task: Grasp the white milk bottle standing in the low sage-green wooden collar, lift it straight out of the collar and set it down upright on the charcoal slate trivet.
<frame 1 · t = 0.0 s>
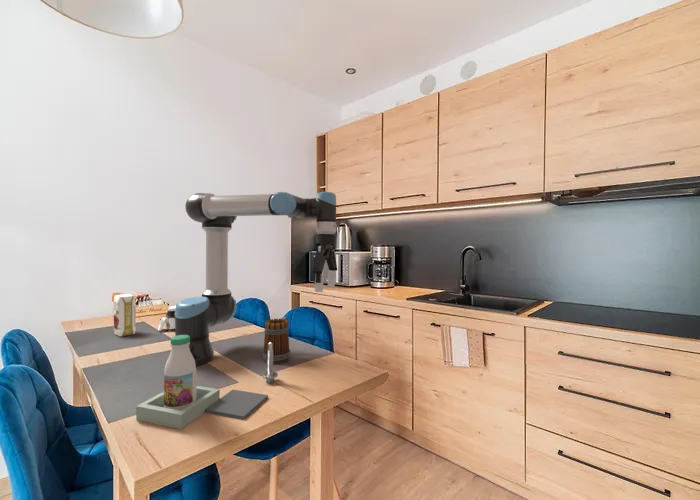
hand: (325, 289, 121), 28 cm above the table, fingers open, 13 cm apart
screw: (270, 381, 104), on the table
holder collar: (180, 410, 86), on the table
milk bottle: (180, 410, 86), resting in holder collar
spread jar: (171, 330, 163), on the table
juice carton: (124, 334, 154), on the table
trivet: (237, 404, 89), on the table
mug: (279, 357, 126), on the table
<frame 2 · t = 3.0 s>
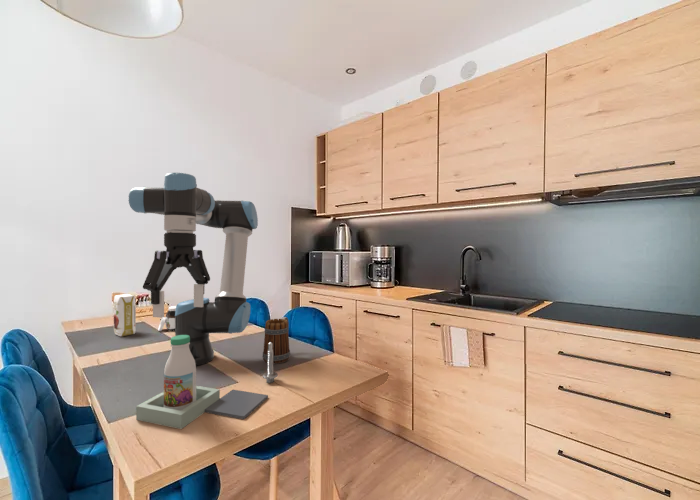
hand: (180, 311, 85), 27 cm above the table, fingers open, 13 cm apart
nothing on the table moved.
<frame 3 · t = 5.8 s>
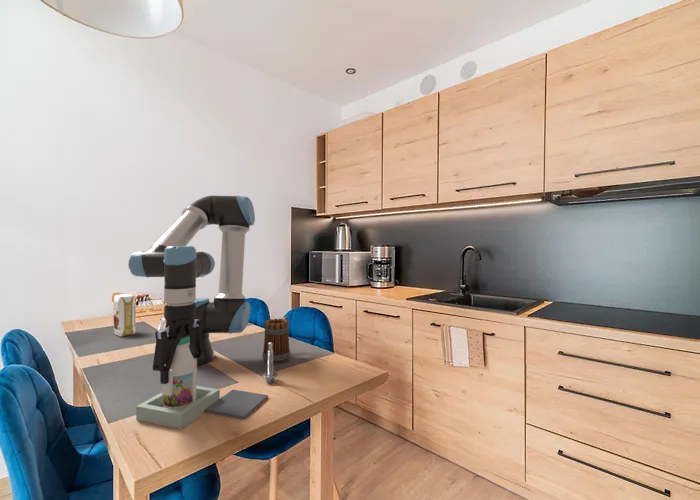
hand: (180, 387, 86), 6 cm above the table, fingers closed on milk bottle, 8 cm apart
milk bottle: (180, 410, 86), resting in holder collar, touching gripper
everything else where it was.
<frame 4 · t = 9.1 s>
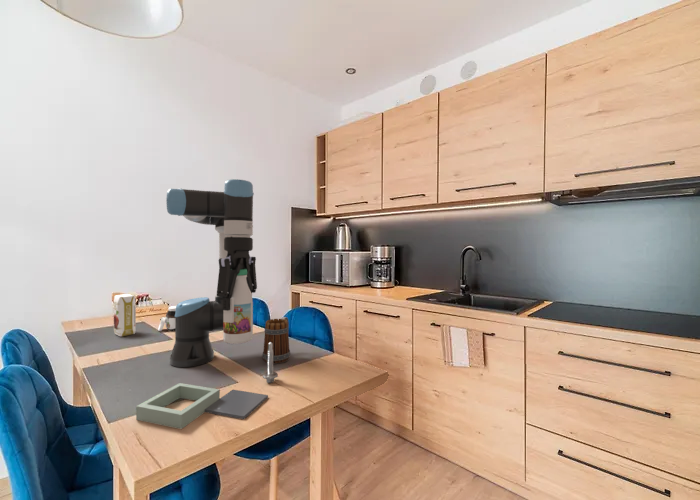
hand: (238, 318, 88), 24 cm above the table, fingers closed on milk bottle, 8 cm apart
milk bottle: (238, 341, 89), point 18 cm above the table, touching gripper
everything else where it was.
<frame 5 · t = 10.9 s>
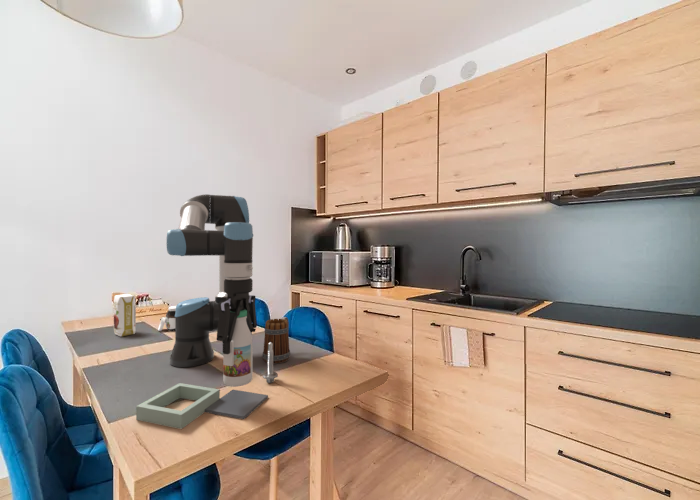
hand: (238, 359, 89), 13 cm above the table, fingers closed on milk bottle, 8 cm apart
milk bottle: (238, 382, 89), point 6 cm above the table, touching gripper
everything else where it was.
when the fingers open (8 cm above the table, at t = 12.7 s): milk bottle drops 1 cm, resting on trivet.
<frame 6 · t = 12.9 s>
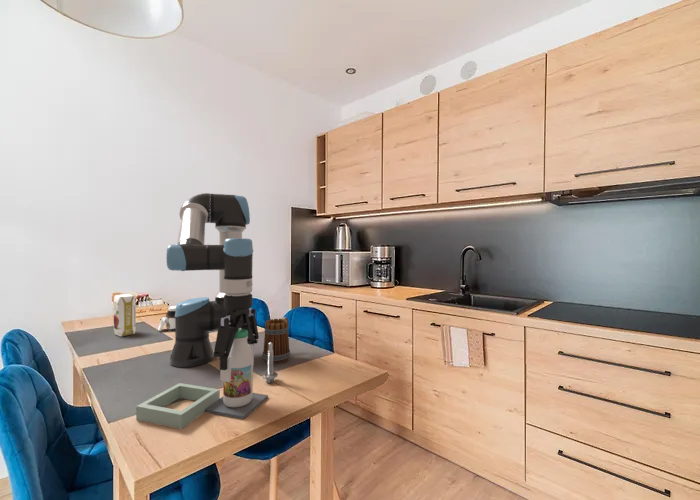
hand: (237, 372, 89), 9 cm above the table, fingers open, 10 cm apart
milk bottle: (237, 402, 89), point 1 cm above the table, touching trivet
everything else where it was.
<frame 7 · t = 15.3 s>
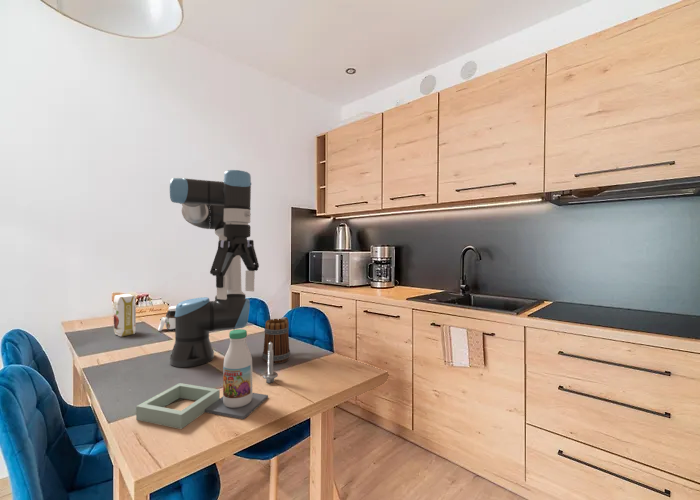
hand: (236, 294, 95), 30 cm above the table, fingers open, 13 cm apart
nothing on the table moved.
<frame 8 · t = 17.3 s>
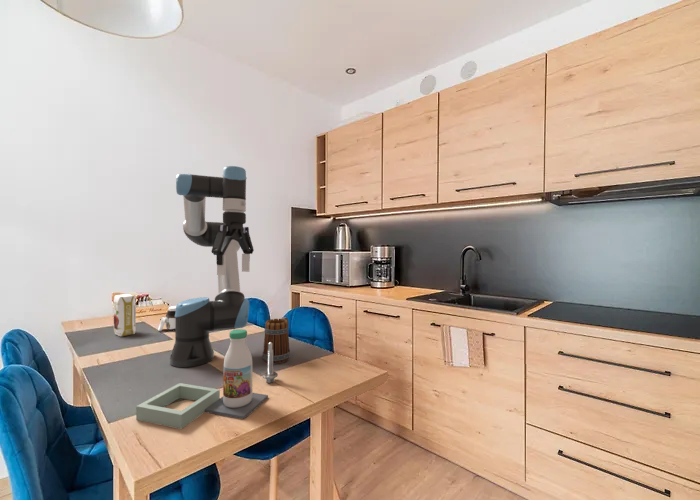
hand: (234, 273, 110), 35 cm above the table, fingers open, 13 cm apart
nothing on the table moved.
at the end: milk bottle inside the target area on the trivet (0.1 cm from its centre), point 0.6 cm above the trivet's base; milk bottle tilted 0°; the gripper is holding nothing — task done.
